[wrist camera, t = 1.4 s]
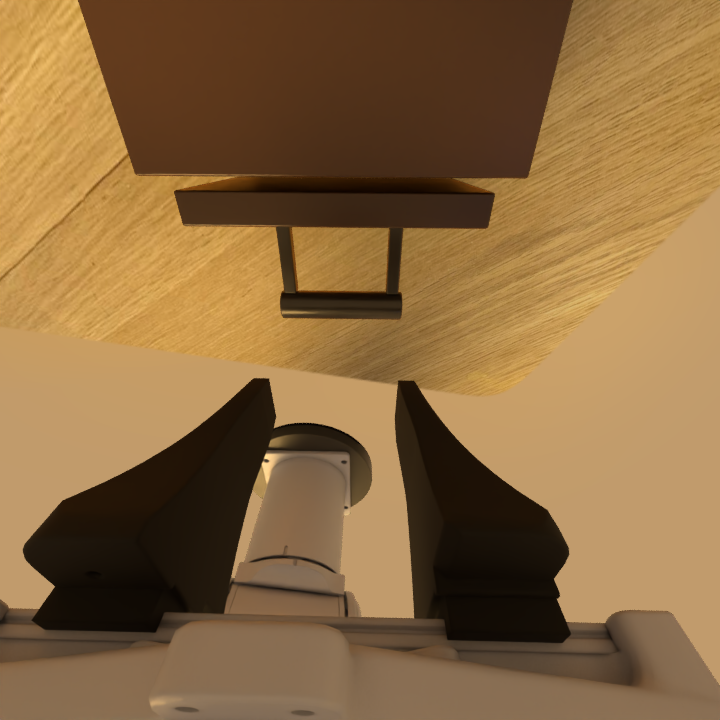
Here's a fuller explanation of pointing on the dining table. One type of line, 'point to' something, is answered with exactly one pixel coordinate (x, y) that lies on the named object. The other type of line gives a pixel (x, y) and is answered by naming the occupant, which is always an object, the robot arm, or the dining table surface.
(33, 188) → the dining table surface
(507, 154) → the brown drawer cabinet
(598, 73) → the dining table surface
